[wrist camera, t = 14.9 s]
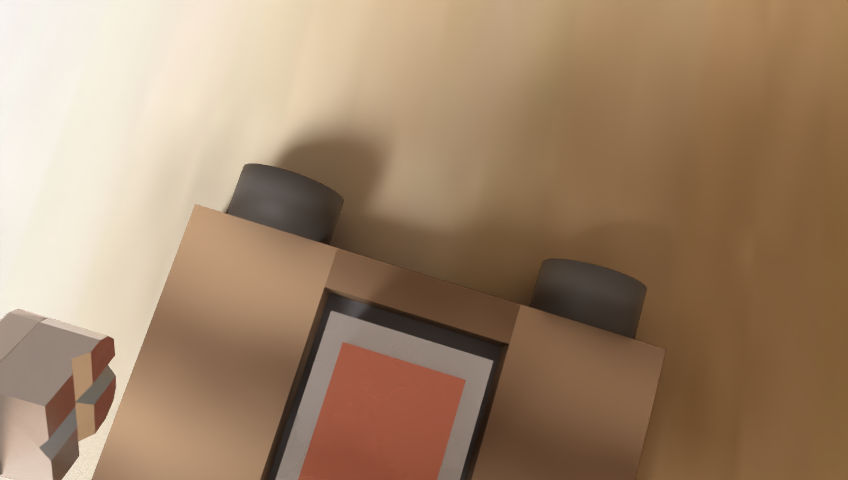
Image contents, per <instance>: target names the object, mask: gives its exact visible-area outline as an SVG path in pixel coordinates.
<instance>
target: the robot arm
mask: <svg viewBox="0 0 848 480" xmlns="http://www.w3.org/2000/svg"><path fill="white" fill-rule="evenodd" d="M114 356H115V349H114V339H112V338H110V337H109V336H106V335H103V334H100V333H96V332H93V331H90V330H87V329H84V328H80V327H77V326H74V325H71V324H68V323H64V322H61V321H58V320H55V319H52V318H47V317H44V316H40V315H37V314H34V313H31V312H27V311H24V310H21V309H17V310H14V311H12V312H9V313H8V314H6V315H5V316H4V317H3V318H2V319H1V320H0V476H2V477H6V478H9V479H13V480H62V478H63V477H64V476H65V474H66V473H67V472H68V470H69V469H70V468H71V466H72V465H73V463H74V462H75V461H76V459H77V458H78V457H79V446H78V441H80V440H82V439H84V438H87V437H89V436H91V435H93V434H95V433H96V432H97V430H98V429H99V427H100V426H101V424H102V423H103V421H104V420H105V418H106V416H107V414H108V412H109V409H110V407H111V405H112V402H113V399H114V394H115V389H116V376H115V374H114V373H113V372H112V370H111V369H110V367H109V366H108V363H109V362H110V361H111V360H112V358H113V357H114Z"/></svg>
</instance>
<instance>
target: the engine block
mask: <svg viewBox="0 0 848 480" xmlns="http://www.w3.org/2000/svg"><path fill="white" fill-rule="evenodd" d="M492 364H493V360H489V359H486V358H483V357H480V356H476V355H473V354H470V353H467V352H463V351H460V350H457V349H454V348H451V347H447V346H444V345H441V344H438V343H434V342H431V341H428V340H425V339H421V338H418V337H415V336H412V335H408V334H405V333H402V332H399V331H396V330H392V329H389V328H386V327H383V326H379V325H376V324H373V323H370V322H366V321H363V320H360V319H357V318H354V317H350V316H347V315H344V314H341V313H337V312H334V311H331V312H330V315H329V318H328V321H327V324H326V327H325V330H324V333H323V337H322V340H321V343H320V346H319V349H318V352H317V355H316V358H315V361H314V364H313V367H312V370H311V373H310V376H309V379H308V382H307V385H306V388H305V391H304V394H303V397H302V400H301V403H300V406H299V409H298V412H297V415H296V418H295V421H294V424H293V428H292V431H291V434H290V437H289V440H288V443H287V446H286V449H285V452H284V455H283V458H282V461H281V464H280V467H279V470H278V473H277V476H276V479H275V480H460V477H461V474H462V470H463V467H464V463H465V460H466V456H467V452H468V449H469V445H470V442H471V438H472V435H473V431H474V428H475V424H476V421H477V417H478V414H479V410H480V407H481V403H482V400H483V396H484V393H485V389H486V385H487V382H488V378H489V375H490V371H491V368H492Z"/></svg>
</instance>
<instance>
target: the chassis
mask: <svg viewBox="0 0 848 480" xmlns="http://www.w3.org/2000/svg"><path fill="white" fill-rule="evenodd" d="M343 202H344V200H343V198H342V197H341V196H340V195H339V194H338V193H336V192H335V191H333V190H332V189H330V188H328V187H326V186H325V185H323V184H321V183H318V182H316V181H314V180H312V179H309V178H307V177H304V176H302V175H299V174H296V173H293V172H290V171H287V170H284V169H280V168H276V167H272V166H268V165H262V164H246V165H244V167H243V170H242V172H241V175H240V178H239V181H238V183H237V186H236V189H235V192H234V194H233V197H232V200H231V202H230V205H229V208H228V211H227V213H222V212H219V211H216V210H213V209H209V208H206V207H203V206H200V205H196V204H195V206H194V209H193V211H192V214H191V217H190V219H189V222H188V225H187V227H186V230H185V233H184V235H183V238H182V241H181V243H180V246H179V249H178V251H177V254H176V257H175V259H174V262H173V265H172V267H171V270H170V273H169V275H168V278H167V281H166V283H165V286H164V288H163V291H162V294H161V296H160V299H159V302H158V304H157V307H156V310H155V312H154V315H153V318H152V320H151V323H150V326H149V328H148V331H147V334H146V336H145V339H144V342H143V344H142V347H141V350H140V352H139V355H138V358H137V360H136V363H135V366H134V368H133V371H132V374H131V376H130V379H129V382H128V384H127V387H126V389H125V392H124V395H123V397H122V400H121V403H120V405H119V408H118V411H117V413H116V416H115V419H114V421H113V424H112V427H111V429H110V432H109V435H108V437H107V440H106V443H105V445H104V448H103V451H102V453H101V456H100V459H99V461H98V464H97V467H96V469H95V472H94V475H93V477H92V480H275V479H276V476H277V473H278V470H279V467H280V464H281V461H282V458H283V455H284V452H285V449H286V446H287V443H288V440H289V437H290V434H291V431H292V428H293V424H294V421H295V418H296V415H297V412H298V409H299V406H300V403H301V400H302V397H303V394H304V391H305V388H306V385H307V382H308V379H309V376H310V373H311V370H312V367H313V364H314V361H315V358H316V355H317V352H318V349H319V346H320V343H321V340H322V337H323V333H324V330H325V327H326V324H327V321H328V318H329V315H330V312H331V311H334V312H337V313H341V314H344V315H347V316H350V317H354V318H357V319H360V320H363V321H366V322H370V323H373V324H376V325H379V326H383V327H386V328H389V329H392V330H396V331H399V332H402V333H405V334H408V335H412V336H415V337H418V338H421V339H425V340H428V341H431V342H434V343H438V344H441V345H444V346H447V347H451V348H454V349H457V350H460V351H463V352H467V353H470V354H473V355H476V356H480V357H483V358H486V359H489V360H493V364H492V368H491V371H490V375H489V378H488V382H487V385H486V389H485V393H484V396H483V400H482V403H481V407H480V410H479V414H478V417H477V421H476V424H475V428H474V431H473V435H472V438H471V442H470V445H469V449H468V452H467V456H466V460H465V463H464V467H463V470H462V474H461V477H460V480H635V477H636V473H637V469H638V465H639V460H640V456H641V452H642V448H643V444H644V440H645V435H646V431H647V427H648V423H649V419H650V415H651V411H652V406H653V402H654V398H655V394H656V390H657V386H658V381H659V377H660V373H661V369H662V365H663V361H664V356H665V352H666V349H664V348H661V347H658V346H655V345H651V344H648V343H645V342H642V341H638V340H635V334H636V330H637V326H638V322H639V318H640V314H641V310H642V306H643V302H644V298H645V294H646V290H647V288H646V286H645V285H644V284H642V283H641V282H639V281H638V280H636V279H634V278H632V277H630V276H627V275H625V274H622V273H620V272H617V271H614V270H611V269H608V268H604V267H601V266H597V265H593V264H589V263H584V262H579V261H573V260H566V259H547V260H544V261H543V262H542V265H541V269H540V272H539V276H538V280H537V283H536V287H535V290H534V294H533V298H532V301H531V305H530V307H528V306H525V305H521V304H518V303H515V302H512V301H508V300H505V299H502V298H499V297H495V296H492V295H489V294H486V293H482V292H479V291H476V290H473V289H469V288H466V287H463V286H460V285H456V284H453V283H450V282H447V281H443V280H440V279H437V278H434V277H430V276H427V275H424V274H421V273H417V272H414V271H411V270H408V269H404V268H401V267H398V266H395V265H391V264H388V263H385V262H382V261H378V260H375V259H372V258H369V257H365V256H362V255H359V254H356V253H352V252H349V251H346V250H343V249H339V248H336V247H333V246H330V245H329V243H330V240H331V237H332V234H333V231H334V228H335V226H336V223H337V220H338V217H339V214H340V211H341V208H342V205H343Z"/></svg>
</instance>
